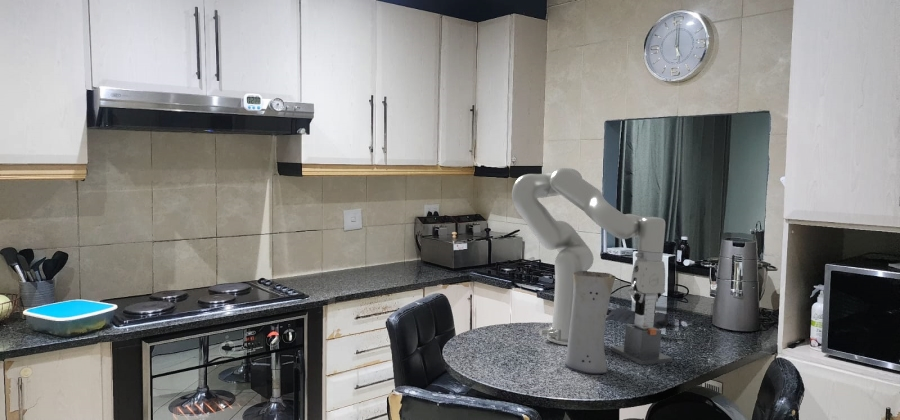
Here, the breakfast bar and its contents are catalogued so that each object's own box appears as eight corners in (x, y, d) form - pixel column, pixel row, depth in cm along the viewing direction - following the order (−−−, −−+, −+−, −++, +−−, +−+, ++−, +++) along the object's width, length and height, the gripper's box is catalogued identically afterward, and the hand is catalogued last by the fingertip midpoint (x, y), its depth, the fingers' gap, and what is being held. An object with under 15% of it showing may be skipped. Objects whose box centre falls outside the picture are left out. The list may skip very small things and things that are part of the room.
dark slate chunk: (616, 313, 250) (617, 301, 250) (671, 323, 238) (672, 311, 238) (603, 320, 237) (604, 308, 237) (661, 331, 225) (662, 319, 225)
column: (642, 343, 189) (647, 293, 187) (633, 339, 193) (637, 290, 191) (652, 342, 190) (657, 293, 189) (643, 338, 194) (647, 290, 193)
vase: (618, 372, 176) (628, 277, 174) (585, 378, 168) (594, 278, 167) (586, 359, 187) (594, 269, 185) (552, 364, 179) (561, 270, 178)
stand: (641, 364, 183) (643, 333, 183) (611, 350, 196) (614, 320, 195) (671, 361, 188) (674, 330, 187) (641, 347, 201) (643, 318, 200)
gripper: (636, 258, 183) (631, 318, 184) (679, 258, 189) (673, 315, 191) (620, 254, 190) (615, 312, 191) (662, 254, 196) (657, 309, 198)
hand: (644, 313), depth 191 cm, fingers closed on column, 4 cm apart
